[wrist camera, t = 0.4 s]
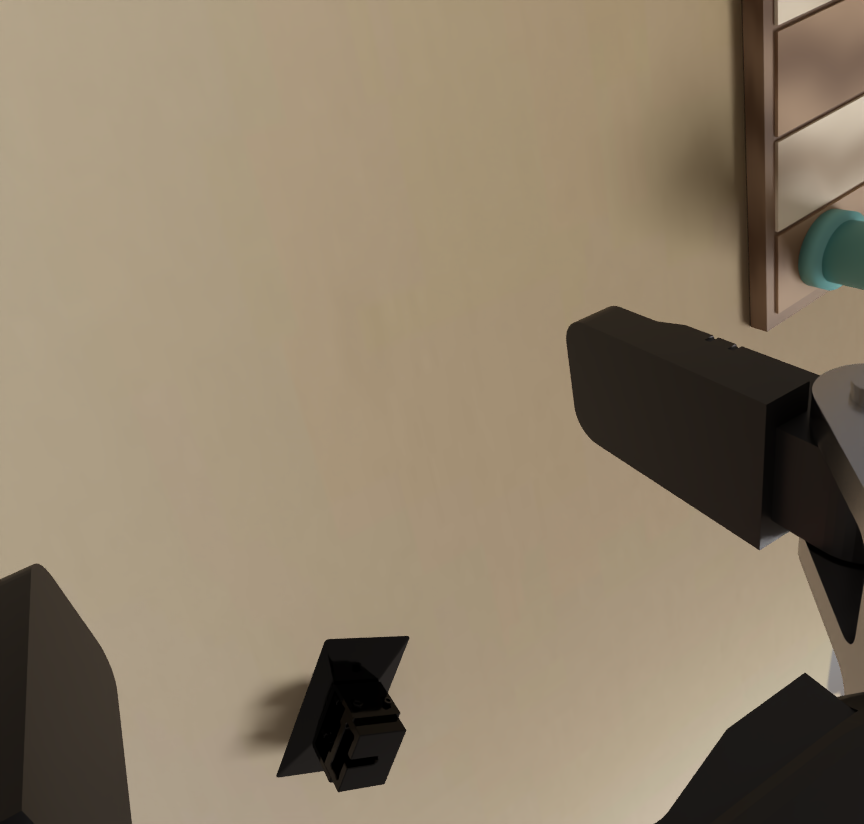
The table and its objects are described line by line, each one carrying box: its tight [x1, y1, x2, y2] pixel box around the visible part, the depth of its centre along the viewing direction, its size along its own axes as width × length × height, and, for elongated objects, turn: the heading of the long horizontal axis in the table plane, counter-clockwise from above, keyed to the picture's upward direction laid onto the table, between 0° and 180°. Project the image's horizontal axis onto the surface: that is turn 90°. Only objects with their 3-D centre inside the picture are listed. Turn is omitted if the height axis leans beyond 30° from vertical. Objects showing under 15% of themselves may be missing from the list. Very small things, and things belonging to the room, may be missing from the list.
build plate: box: [277, 636, 409, 792], centre depth 38 cm, size 12×7×5 cm, turn 157°
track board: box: [742, 0, 864, 332], centre depth 39 cm, size 24×10×1 cm, turn 18°
